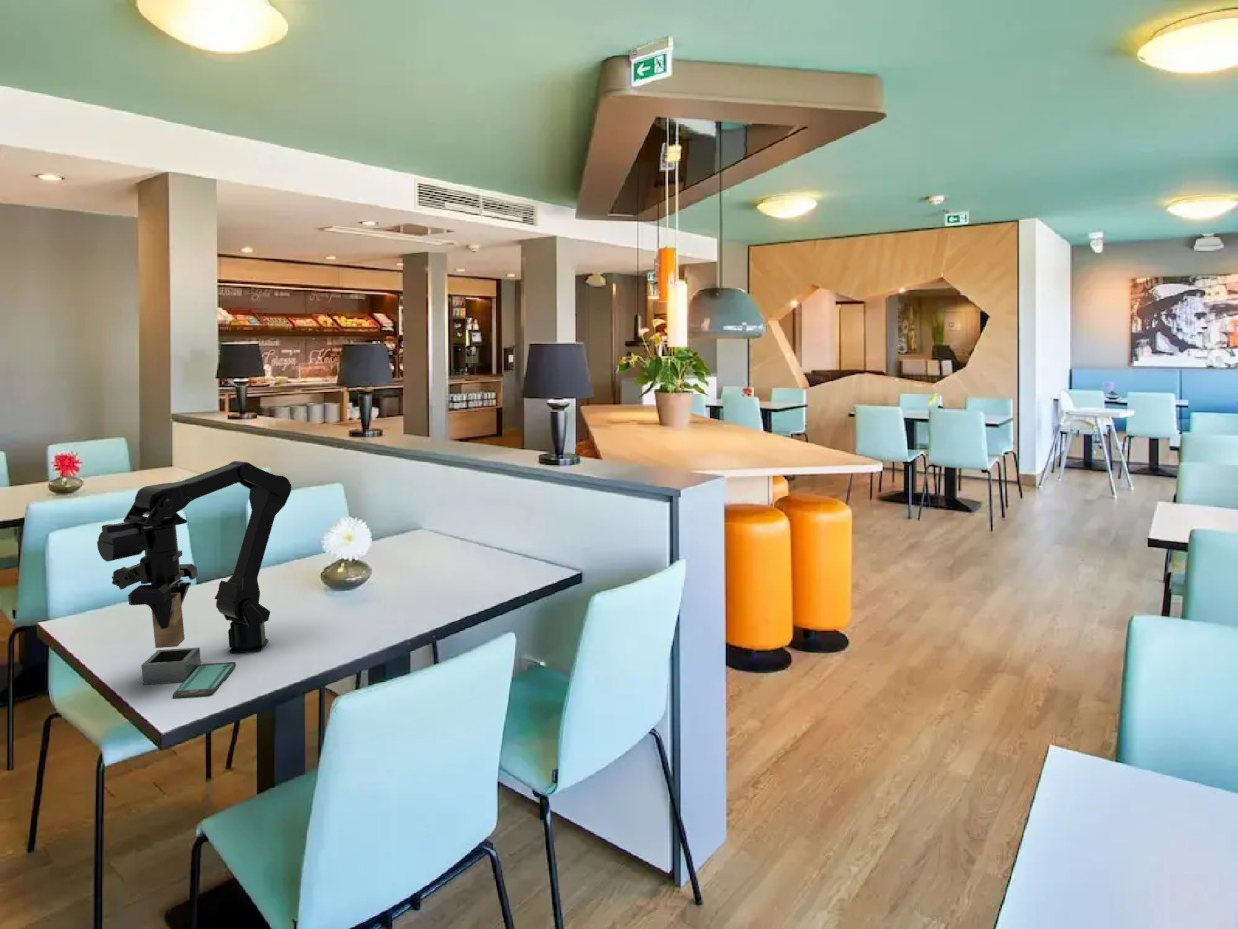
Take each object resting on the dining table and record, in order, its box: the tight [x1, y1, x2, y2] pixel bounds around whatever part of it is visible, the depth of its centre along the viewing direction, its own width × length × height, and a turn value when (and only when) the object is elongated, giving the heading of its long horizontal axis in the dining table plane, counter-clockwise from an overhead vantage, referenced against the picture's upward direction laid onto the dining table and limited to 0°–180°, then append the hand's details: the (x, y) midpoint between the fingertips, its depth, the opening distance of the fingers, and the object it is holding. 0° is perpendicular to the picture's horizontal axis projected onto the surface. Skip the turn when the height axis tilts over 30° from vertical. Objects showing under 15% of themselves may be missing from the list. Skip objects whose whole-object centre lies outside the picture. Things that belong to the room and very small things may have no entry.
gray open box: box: [140, 647, 202, 686], centre depth 157 cm, size 8×8×4 cm
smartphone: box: [172, 661, 237, 700], centre depth 155 cm, size 7×1×15 cm
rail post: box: [151, 592, 185, 649], centre depth 156 cm, size 4×4×10 cm
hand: (168, 624), depth 156 cm, fingers closed on rail post, 4 cm apart
